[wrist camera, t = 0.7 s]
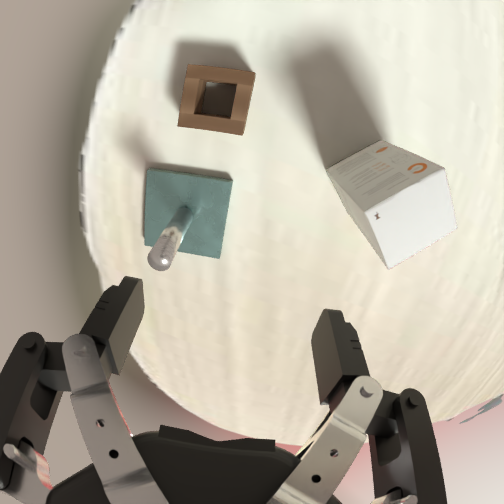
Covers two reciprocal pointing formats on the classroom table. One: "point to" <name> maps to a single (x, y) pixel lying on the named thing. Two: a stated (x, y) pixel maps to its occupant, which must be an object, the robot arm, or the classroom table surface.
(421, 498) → the robot arm
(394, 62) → the classroom table surface
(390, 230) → the small box
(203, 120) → the hollow block
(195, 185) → the post
